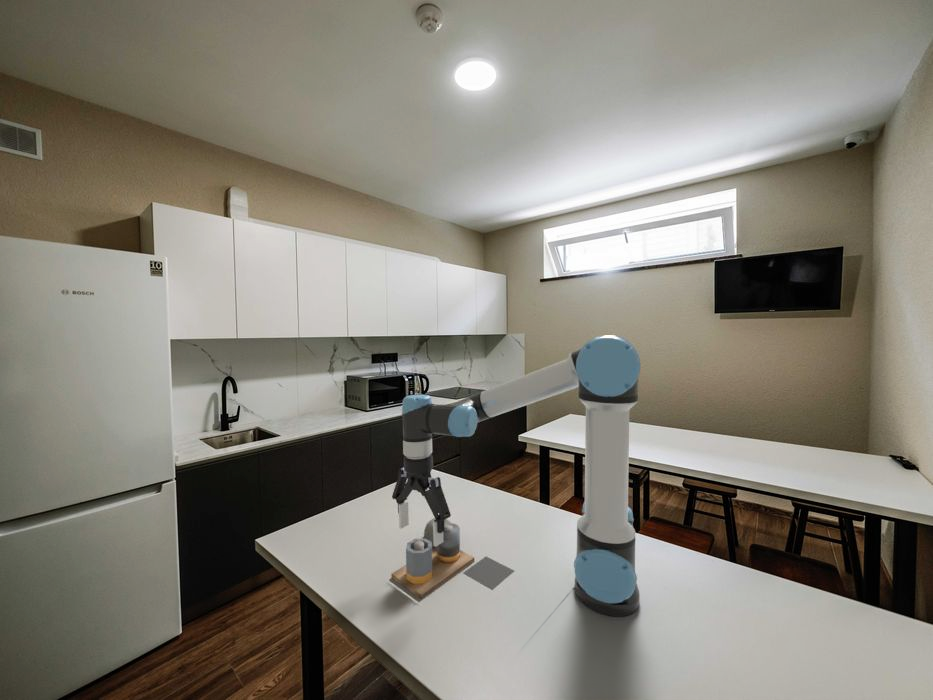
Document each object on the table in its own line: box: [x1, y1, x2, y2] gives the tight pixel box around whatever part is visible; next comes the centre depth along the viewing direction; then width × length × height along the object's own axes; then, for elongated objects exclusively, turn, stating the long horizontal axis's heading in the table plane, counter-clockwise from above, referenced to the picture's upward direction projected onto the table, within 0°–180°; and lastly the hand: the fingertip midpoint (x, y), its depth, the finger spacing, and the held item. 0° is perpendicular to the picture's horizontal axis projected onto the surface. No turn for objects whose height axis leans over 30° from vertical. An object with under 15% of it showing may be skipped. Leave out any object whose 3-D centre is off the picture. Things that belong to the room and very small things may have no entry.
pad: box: [463, 556, 515, 591], centre depth 100 cm, size 10×10×1 cm
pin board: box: [391, 522, 475, 600], centre depth 101 cm, size 12×20×10 cm, turn 139°
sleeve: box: [405, 537, 433, 584], centre depth 97 cm, size 7×7×8 cm
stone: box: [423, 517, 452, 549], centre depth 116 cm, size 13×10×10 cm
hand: (420, 534), depth 96 cm, fingers open, 13 cm apart
